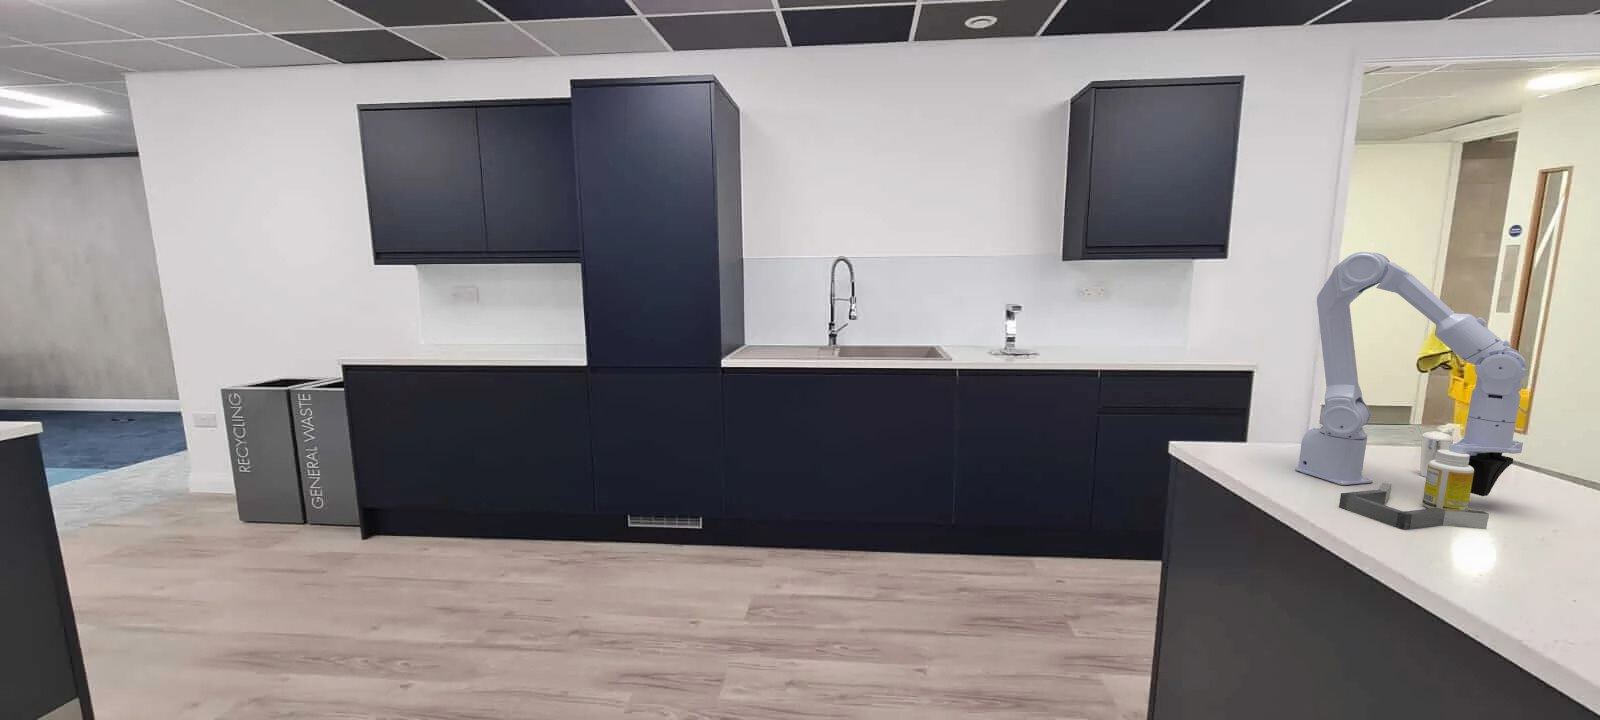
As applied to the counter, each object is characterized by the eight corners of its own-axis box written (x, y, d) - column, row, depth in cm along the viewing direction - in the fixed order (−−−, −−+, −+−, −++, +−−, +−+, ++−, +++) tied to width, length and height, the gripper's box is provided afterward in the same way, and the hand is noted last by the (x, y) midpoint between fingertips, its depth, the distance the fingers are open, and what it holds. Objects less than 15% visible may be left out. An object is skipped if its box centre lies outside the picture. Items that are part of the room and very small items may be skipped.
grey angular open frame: (1323, 501, 114) (1325, 488, 114) (1383, 495, 118) (1385, 482, 117) (1423, 536, 100) (1426, 521, 99) (1488, 528, 103) (1491, 513, 103)
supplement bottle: (1472, 512, 110) (1483, 455, 108) (1458, 518, 107) (1468, 459, 106) (1430, 501, 115) (1439, 446, 113) (1415, 506, 112) (1424, 450, 111)
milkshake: (1408, 470, 133) (1415, 423, 131) (1444, 475, 129) (1452, 427, 128) (1412, 476, 129) (1419, 427, 127) (1449, 481, 126) (1457, 432, 124)
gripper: (1491, 426, 105) (1477, 505, 107) (1551, 422, 109) (1536, 498, 111) (1439, 416, 112) (1427, 491, 114) (1498, 412, 115) (1484, 485, 117)
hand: (1477, 494), depth 113 cm, fingers closed
